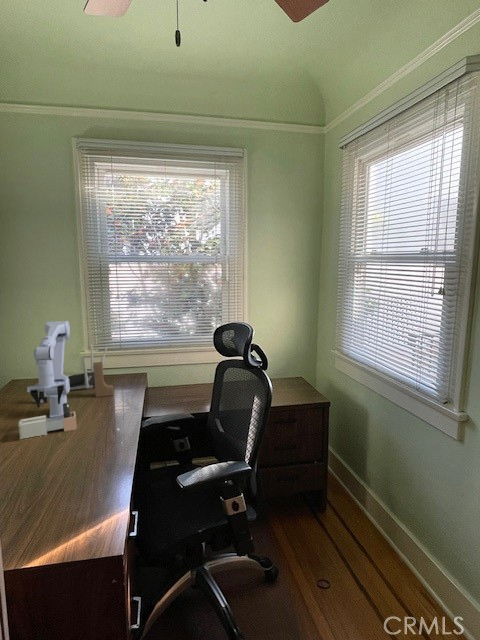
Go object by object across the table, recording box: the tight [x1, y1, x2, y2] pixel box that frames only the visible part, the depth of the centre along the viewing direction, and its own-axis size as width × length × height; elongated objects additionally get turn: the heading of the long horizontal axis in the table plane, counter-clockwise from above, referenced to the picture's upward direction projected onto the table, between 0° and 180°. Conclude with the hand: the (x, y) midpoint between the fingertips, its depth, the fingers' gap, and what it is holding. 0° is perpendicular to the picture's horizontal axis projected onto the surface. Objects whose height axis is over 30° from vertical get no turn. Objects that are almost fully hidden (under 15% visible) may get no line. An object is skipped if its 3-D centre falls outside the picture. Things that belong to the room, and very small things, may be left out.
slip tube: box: [46, 402, 72, 432], centre depth 150 cm, size 4×12×10 cm, turn 118°
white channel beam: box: [18, 415, 48, 440], centre depth 147 cm, size 6×10×6 cm, turn 118°
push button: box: [33, 382, 49, 404], centre depth 182 cm, size 7×5×10 cm
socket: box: [62, 411, 78, 432], centre depth 153 cm, size 6×5×6 cm
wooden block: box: [93, 361, 114, 398], centre depth 190 cm, size 9×4×18 cm, turn 111°
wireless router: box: [68, 343, 109, 391], centre depth 210 cm, size 34×23×20 cm
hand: (48, 405), depth 153 cm, fingers open, 7 cm apart
